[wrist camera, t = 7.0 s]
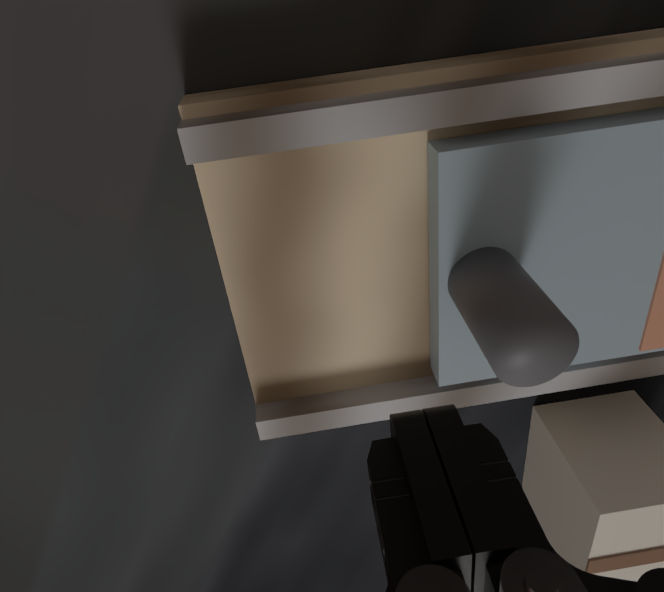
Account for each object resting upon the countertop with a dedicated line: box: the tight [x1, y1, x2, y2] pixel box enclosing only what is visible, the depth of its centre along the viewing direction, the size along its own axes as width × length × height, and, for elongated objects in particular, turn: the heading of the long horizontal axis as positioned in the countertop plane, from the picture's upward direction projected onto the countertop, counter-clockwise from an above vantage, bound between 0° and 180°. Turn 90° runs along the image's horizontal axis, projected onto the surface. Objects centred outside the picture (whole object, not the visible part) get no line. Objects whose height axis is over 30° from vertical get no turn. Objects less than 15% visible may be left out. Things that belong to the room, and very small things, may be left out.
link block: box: [522, 390, 664, 582], centre depth 24 cm, size 5×7×6 cm
